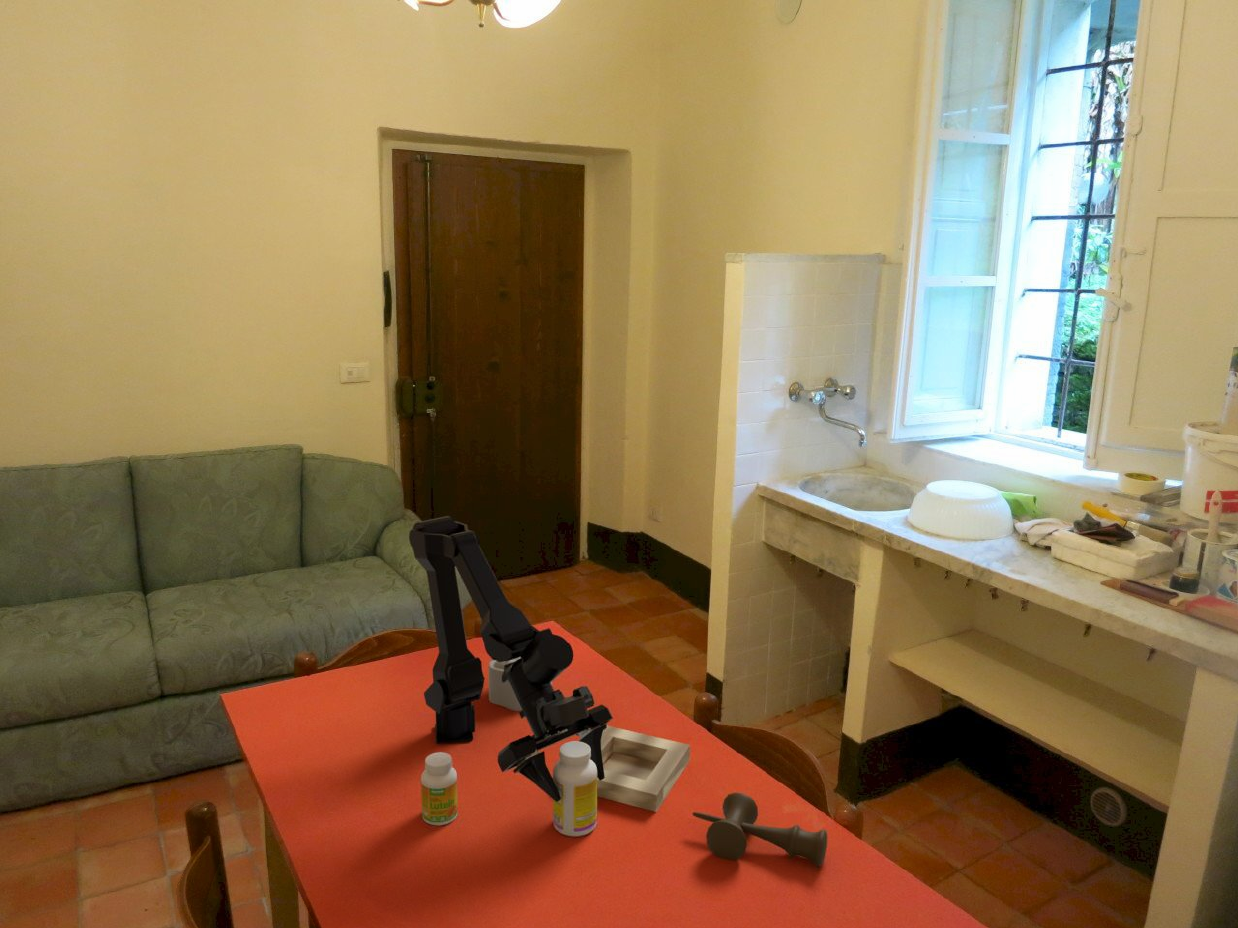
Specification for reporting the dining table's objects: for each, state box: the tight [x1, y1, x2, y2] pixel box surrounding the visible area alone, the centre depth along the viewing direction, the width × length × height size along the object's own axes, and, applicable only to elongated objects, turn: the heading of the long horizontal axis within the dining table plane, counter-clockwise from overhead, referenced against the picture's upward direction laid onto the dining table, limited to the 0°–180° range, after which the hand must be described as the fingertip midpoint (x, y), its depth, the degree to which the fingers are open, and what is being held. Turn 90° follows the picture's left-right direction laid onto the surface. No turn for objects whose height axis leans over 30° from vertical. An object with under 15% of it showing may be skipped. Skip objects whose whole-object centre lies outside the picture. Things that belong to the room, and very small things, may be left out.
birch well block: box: [597, 725, 691, 813], centre depth 154 cm, size 16×16×3 cm
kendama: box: [692, 792, 828, 868], centre depth 136 cm, size 6×10×20 cm
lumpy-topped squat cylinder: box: [488, 657, 553, 712], centre depth 180 cm, size 10×13×9 cm
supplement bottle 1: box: [420, 752, 459, 826], centre depth 142 cm, size 5×5×10 cm
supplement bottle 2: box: [552, 740, 598, 837], centre depth 140 cm, size 7×7×13 cm
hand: (581, 789), depth 139 cm, fingers open, 8 cm apart
